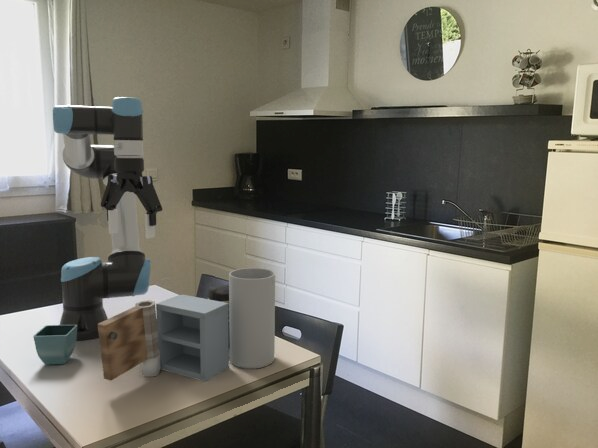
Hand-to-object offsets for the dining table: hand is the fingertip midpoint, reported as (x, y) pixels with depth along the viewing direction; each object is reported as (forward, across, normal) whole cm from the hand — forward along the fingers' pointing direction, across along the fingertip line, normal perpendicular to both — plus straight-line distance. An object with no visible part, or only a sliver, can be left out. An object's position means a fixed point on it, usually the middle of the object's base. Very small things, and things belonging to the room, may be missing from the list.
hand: (131, 235), depth 142 cm
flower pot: (+35, -16, -13) cm, 41 cm away
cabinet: (+35, +18, -1) cm, 39 cm away
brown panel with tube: (+30, +12, -12) cm, 34 cm away
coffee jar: (+35, +17, +19) cm, 43 cm away
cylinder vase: (+35, +30, +14) cm, 48 cm away
